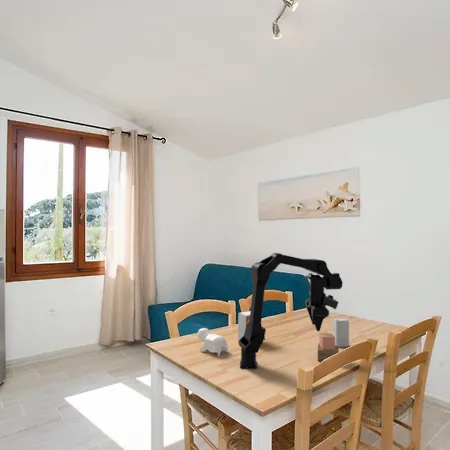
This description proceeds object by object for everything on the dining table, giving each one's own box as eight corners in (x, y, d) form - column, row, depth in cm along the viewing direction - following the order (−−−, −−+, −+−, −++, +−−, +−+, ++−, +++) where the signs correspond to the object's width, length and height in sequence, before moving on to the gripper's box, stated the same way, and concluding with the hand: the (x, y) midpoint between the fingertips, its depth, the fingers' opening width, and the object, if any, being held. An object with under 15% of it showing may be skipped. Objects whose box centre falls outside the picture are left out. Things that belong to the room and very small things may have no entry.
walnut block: (338, 364, 133) (338, 352, 133) (317, 362, 136) (317, 349, 136) (338, 357, 141) (338, 345, 141) (318, 355, 143) (318, 343, 143)
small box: (245, 344, 155) (246, 315, 155) (237, 340, 161) (237, 312, 161) (259, 340, 160) (259, 313, 160) (251, 337, 165) (251, 310, 165)
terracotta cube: (335, 349, 136) (335, 337, 136) (322, 349, 136) (322, 336, 136) (331, 345, 141) (331, 333, 141) (319, 345, 141) (319, 333, 141)
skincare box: (344, 343, 157) (345, 317, 157) (349, 347, 152) (349, 320, 152) (332, 344, 156) (332, 317, 156) (336, 347, 152) (336, 320, 152)
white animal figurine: (226, 357, 147) (203, 338, 156) (232, 341, 145) (208, 322, 154) (213, 363, 140) (190, 342, 149) (219, 346, 138) (195, 326, 147)
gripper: (343, 295, 130) (342, 335, 129) (331, 286, 148) (330, 322, 148) (313, 293, 130) (312, 334, 130) (305, 285, 149) (304, 321, 149)
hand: (315, 327), depth 139 cm, fingers open, 9 cm apart
